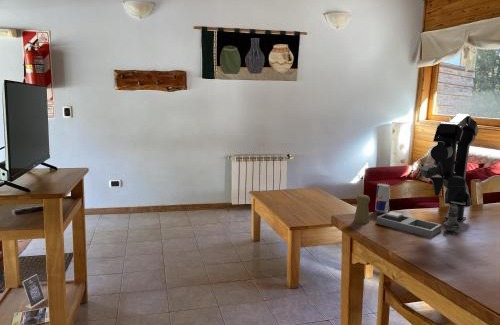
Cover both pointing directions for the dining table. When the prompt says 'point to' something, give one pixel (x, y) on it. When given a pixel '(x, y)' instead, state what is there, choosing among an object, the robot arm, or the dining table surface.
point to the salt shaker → (452, 221)
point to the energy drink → (382, 198)
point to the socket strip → (411, 225)
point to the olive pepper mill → (362, 209)
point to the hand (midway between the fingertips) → (442, 199)
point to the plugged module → (394, 216)
